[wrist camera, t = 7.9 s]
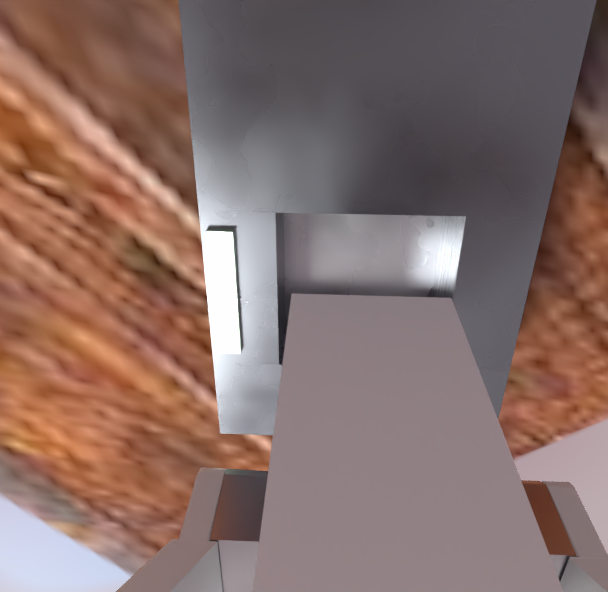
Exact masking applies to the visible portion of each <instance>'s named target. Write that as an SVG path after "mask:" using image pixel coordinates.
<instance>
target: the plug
mask: <svg viewBox="0 0 608 592" xmlns="http://www.w3.org/2000/svg"><path fill="white" fill-rule="evenodd" d="M253 592H564V591H563V589H562V586H561V584H560V581H559V578H558V576H557V573H556V571H555V568H554V565H553V563H552V560H551V557H550V555H549V552H548V550H547V547H546V544H545V542H544V539H543V536H542V534H541V531H540V529H539V526H538V523H537V521H536V518H535V516H534V513H533V510H532V508H531V505H530V502H529V500H528V497H527V495H526V492H525V489H524V487H523V484H522V481H521V479H520V476H519V474H518V471H517V469H516V466H515V463H514V461H513V458H512V455H511V453H510V450H509V447H508V445H507V442H506V440H505V437H504V434H503V432H502V429H501V426H500V424H499V421H498V419H497V416H496V413H495V411H494V408H493V406H492V403H491V400H490V398H489V395H488V392H487V390H486V387H485V385H484V382H483V379H482V377H481V374H480V371H479V369H478V366H477V364H476V361H475V358H474V356H473V353H472V351H471V348H470V345H469V343H468V340H467V337H466V335H465V332H464V330H463V327H462V324H461V322H460V319H459V317H458V314H457V311H456V309H455V306H454V303H453V301H452V298H438V297H401V296H365V295H329V294H291V302H290V310H289V317H288V325H287V333H286V340H285V348H284V356H283V363H282V371H281V379H280V386H279V394H278V401H277V409H276V417H275V424H274V432H273V440H272V447H271V455H270V463H269V470H268V478H267V486H266V493H265V501H264V508H263V516H262V524H261V531H260V539H259V547H258V554H257V562H256V570H255V577H254V585H253Z"/></svg>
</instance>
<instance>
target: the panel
mask: <svg viewBox="0 0 608 592" xmlns="http://www.w3.org/2000/svg"><path fill="white" fill-rule="evenodd" d="M596 1H597V0H179V10H180V20H181V31H182V41H183V51H184V62H185V72H186V83H187V93H188V103H189V114H190V124H191V135H192V145H193V155H194V166H195V176H196V186H197V197H198V207H199V218H200V228H201V238H202V249H203V259H204V270H205V280H206V290H207V301H208V311H209V322H210V332H211V342H212V353H213V363H214V373H215V384H216V394H217V405H218V415H219V425H220V433H225V434H253V435H273V432H274V424H275V417H276V409H277V401H278V394H279V386H280V379H281V371H282V363H283V356H284V348H285V340H286V333H287V325H288V317H289V310H290V302H291V294H329V295H365V296H401V297H438V298H452V301H453V303H454V306H455V309H456V311H457V314H458V317H459V319H460V322H461V324H462V327H463V330H464V332H465V335H466V337H467V340H468V343H469V345H470V348H471V351H472V353H473V356H474V358H475V361H476V364H477V366H478V369H479V371H480V374H481V377H482V379H483V382H484V385H485V387H486V390H487V392H488V395H489V398H490V400H491V403H492V406H493V408H494V411H495V413H496V416H497V419H498V417H499V413H500V409H501V405H502V400H503V396H504V392H505V388H506V383H507V379H508V375H509V371H510V366H511V362H512V358H513V354H514V349H515V345H516V341H517V337H518V332H519V328H520V324H521V320H522V315H523V311H524V307H525V303H526V298H527V294H528V290H529V286H530V281H531V277H532V273H533V269H534V264H535V260H536V256H537V252H538V247H539V243H540V239H541V235H542V230H543V226H544V222H545V218H546V213H547V209H548V205H549V200H550V196H551V192H552V188H553V183H554V179H555V175H556V171H557V166H558V162H559V158H560V154H561V149H562V145H563V141H564V137H565V132H566V128H567V124H568V120H569V115H570V111H571V107H572V103H573V98H574V94H575V90H576V86H577V81H578V77H579V73H580V69H581V64H582V60H583V56H584V52H585V47H586V43H587V39H588V35H589V30H590V26H591V22H592V18H593V13H594V9H595V5H596Z"/></svg>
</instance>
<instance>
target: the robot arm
mask: <svg viewBox="0 0 608 592" xmlns="http://www.w3.org/2000/svg"><path fill="white" fill-rule="evenodd" d="M267 478H268V471H254V470H239V469H217V468H201V469H200V470H199V472H198V474H197V476H196V480H195V484H194V487H193V491H192V494H191V498H190V501H189V505H188V509H187V512H186V516H185V519H184V523H183V527H182V530H181V534H180V537H179V540H176V539H171V540H170V541H169V542H168V543H167V544H166V545H165V546H164V547H163V548H162V549H161V550H159V551H158V552H157V553H156V554H155V555H154V556H153V557H152V558H151V559H150V560H149V561H148V562H147V563H146V564H145V565H144V566H143V567H142V568H140V569H139V570H138V571H137V572H136V573H135V574H134V575H133V576H132V577H131V578H130V579H129V580H128V581H127V582H126V583H125V584H124V585H123V586H122V587H120V588H119V589H118V590H117V591H116V592H253V585H254V577H255V570H256V562H257V554H258V547H259V539H260V531H261V524H262V516H263V508H264V501H265V493H266V486H267ZM522 484H523V487H524V489H525V492H526V495H527V497H528V500H529V502H530V505H531V508H532V510H533V513H534V516H535V518H536V521H537V523H538V526H539V529H540V531H541V534H542V536H543V539H544V542H545V544H546V547H547V550H548V552H549V555H550V557H551V560H552V563H553V565H554V568H555V571H556V573H557V576H558V578H559V581H560V584H561V586H562V589H563V591H564V592H608V555H607V553H606V551H605V549H604V547H603V545H602V543H601V541H600V539H599V537H598V534H597V532H596V531H595V528H594V526H593V525H592V522H591V520H590V518H589V516H588V514H587V512H586V510H585V508H584V506H583V504H582V502H581V500H580V498H579V496H578V494H577V492H576V490H575V488H574V486H573V485H572V484H571V483H569V482H546V481H543V482H540V481H522Z"/></svg>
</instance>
